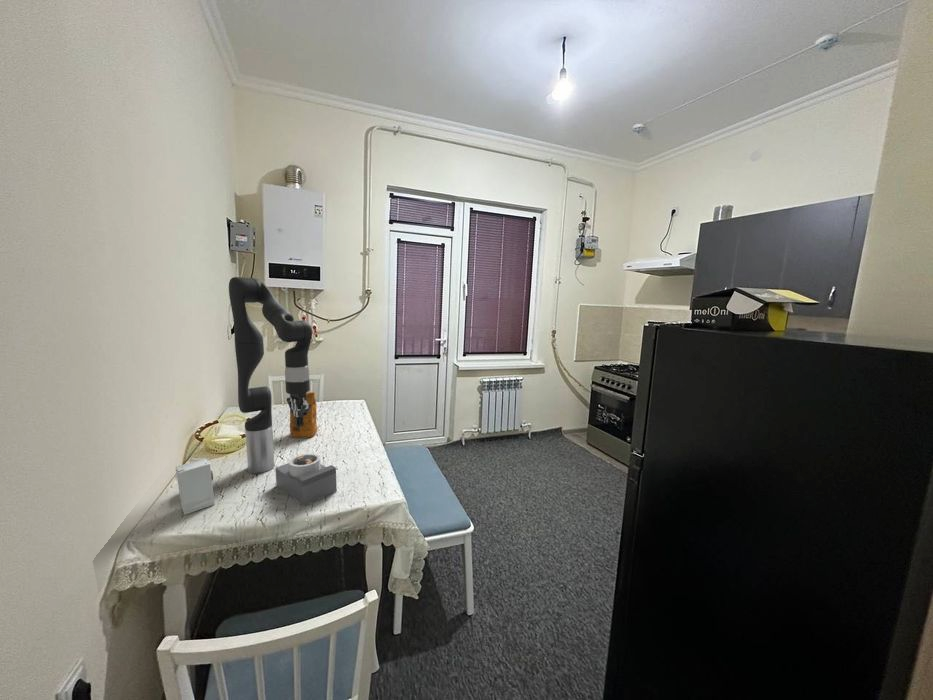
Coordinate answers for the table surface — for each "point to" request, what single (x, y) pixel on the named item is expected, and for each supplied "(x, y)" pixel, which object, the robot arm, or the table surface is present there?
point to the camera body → (306, 479)
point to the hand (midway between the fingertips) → (299, 426)
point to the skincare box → (195, 485)
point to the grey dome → (304, 460)
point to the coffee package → (305, 420)
